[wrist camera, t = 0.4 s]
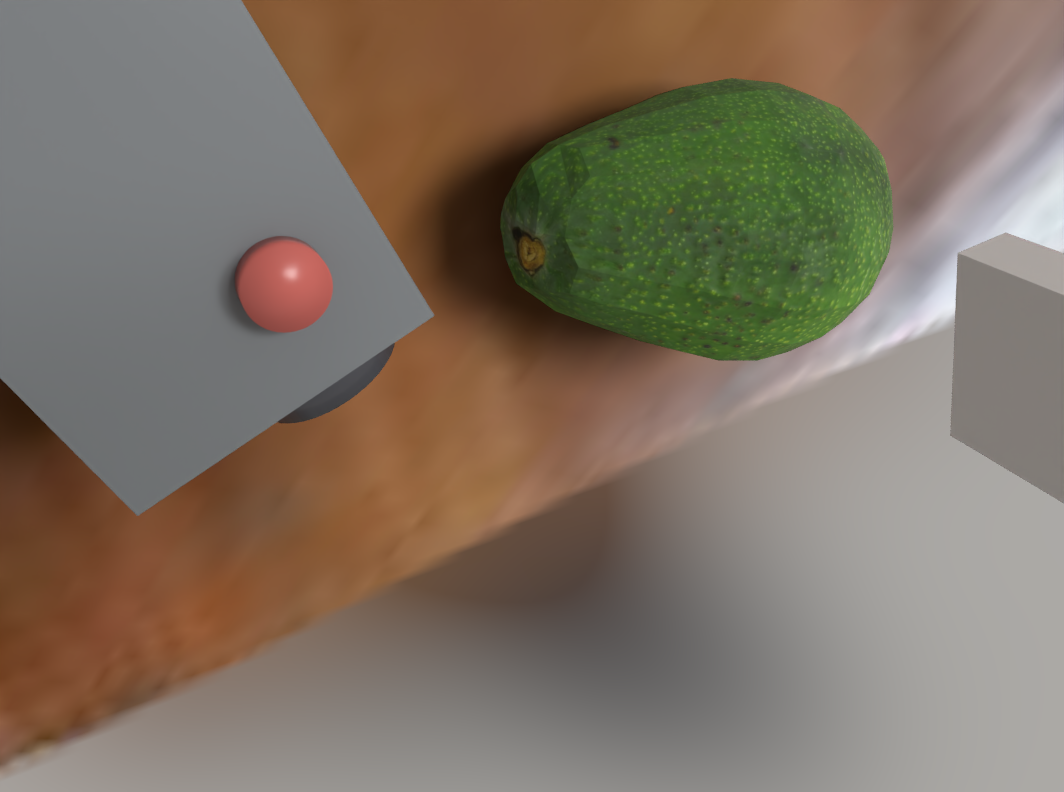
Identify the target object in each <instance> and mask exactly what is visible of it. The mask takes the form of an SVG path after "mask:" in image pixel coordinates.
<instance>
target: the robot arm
mask: <svg viewBox="0 0 1064 792" xmlns="http://www.w3.org/2000/svg"><path fill="white" fill-rule="evenodd" d="M953 360H954V361H953V384H952V408H951V434H950V435H951V436H952V437H954V438H955V439H957V440H959V441H960V442H962V443H964V444H965V445H967V446H969V447H971V448H972V449H974V450H976V451H977V452H979V453H981V454H982V455H984V456H986V457H987V458H989V459H991V460H992V461H994V462H996V463H997V464H999V465H1001V466H1003V467H1004V468H1006V469H1008V470H1009V471H1011V472H1012V473H1014V474H1016V475H1017V476H1019V477H1021V478H1022V479H1024V480H1026V481H1027V482H1029V483H1031V484H1032V485H1034V486H1036V487H1038V488H1039V489H1041V490H1042V491H1044V492H1046V493H1047V494H1049V495H1051V496H1053V497H1054V498H1056V499H1057V500H1059V501H1061V502H1062V503H1064V253H1061V252H1058V251H1056V250H1053V249H1050V248H1047V247H1044V246H1042V245H1039V244H1036V243H1033V242H1030V241H1028V240H1025V239H1022V238H1019V237H1016V236H1014V235H1011V234H1008V233H1004V234H1001V235H999V236H997V237H994V238H992V239H990V240H987V241H985V242H982V243H980V244H978V245H975V246H973V247H971V248H968V249H966V250H964V251H961V252H959V253H958V260H957V285H956V310H955V335H954V359H953Z"/></svg>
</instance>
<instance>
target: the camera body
mask: <svg viewBox="0 0 1064 792" xmlns="http://www.w3.org/2000/svg"><path fill="white" fill-rule="evenodd" d="M433 316H434V314H433V312H432V311H431V309H430V308H429V306H428V304H427V303H426V301H425V299H424V298H423V296H422V295H421V293H420V291H419V290H418V288H417V286H416V285H415V283H414V281H413V280H412V278H411V277H410V275H409V273H408V272H407V270H406V268H405V267H404V265H403V264H402V262H401V260H400V259H399V257H398V255H397V254H396V252H395V250H394V249H393V247H392V246H391V244H390V242H389V241H388V239H387V237H386V236H385V234H384V233H383V231H382V229H381V228H380V226H379V224H378V223H377V221H376V219H375V218H374V216H373V215H372V213H371V211H370V210H369V208H368V206H367V205H366V203H365V202H364V200H363V198H362V197H361V195H360V193H359V192H358V190H357V189H356V187H355V185H354V184H353V182H352V180H351V179H350V177H349V175H348V174H347V172H346V171H345V169H344V167H343V166H342V164H341V162H340V161H339V159H338V158H337V156H336V154H335V153H334V151H333V149H332V148H331V146H330V144H329V143H328V141H327V140H326V138H325V136H324V135H323V133H322V131H321V130H320V128H319V127H318V125H317V123H316V122H315V120H314V118H313V117H312V115H311V113H310V112H309V110H308V109H307V107H306V105H305V104H304V102H303V100H302V99H301V97H300V96H299V94H298V92H297V91H296V89H295V87H294V86H293V84H292V82H291V81H290V79H289V78H288V76H287V74H286V73H285V71H284V69H283V68H282V66H281V65H280V63H279V61H278V60H277V58H276V56H275V55H274V53H273V52H272V50H271V48H270V47H269V45H268V43H267V42H266V40H265V38H264V37H263V35H262V34H261V32H260V30H259V29H258V27H257V25H256V24H255V22H254V21H253V19H252V17H251V16H250V14H249V12H248V11H247V9H246V7H245V6H244V4H243V3H242V1H241V0H0V378H1V379H2V380H3V381H4V382H5V383H6V384H7V385H8V386H9V387H10V388H11V389H12V390H13V391H14V392H15V393H16V394H17V395H18V396H19V397H20V398H21V399H22V401H23V402H24V403H25V404H26V405H27V406H28V407H29V408H30V409H31V410H32V411H33V412H34V413H35V414H36V415H37V416H38V417H39V418H40V419H41V420H42V421H43V422H44V423H45V424H46V425H47V426H48V427H49V428H50V429H51V430H52V431H53V432H54V433H55V434H56V435H57V436H58V437H59V438H60V439H61V440H62V441H63V442H64V443H65V444H66V445H67V446H68V447H69V448H70V449H71V450H72V451H73V452H74V453H75V454H76V455H77V456H78V457H79V458H80V459H81V460H82V461H83V462H84V463H85V464H86V465H87V466H88V467H89V468H90V469H91V470H92V471H93V472H94V473H95V474H96V475H97V476H98V477H99V478H100V479H101V480H102V481H103V482H104V483H105V484H106V485H107V486H108V487H109V488H110V489H111V490H112V491H113V492H114V493H115V494H116V495H117V496H118V497H119V498H120V499H121V500H122V501H123V502H124V503H125V504H126V505H127V506H128V507H129V508H130V509H131V510H132V511H133V512H134V513H135V514H136V515H137V516H138V515H140V514H141V513H143V512H144V511H146V510H147V509H149V508H150V507H152V506H153V505H155V504H156V503H157V502H159V501H160V500H162V499H163V498H165V497H166V496H168V495H169V494H171V493H172V492H174V491H175V490H177V489H178V488H180V487H181V486H183V485H184V484H186V483H187V482H189V481H190V480H192V479H193V478H195V477H196V476H198V475H199V474H200V473H202V472H203V471H205V470H206V469H208V468H209V467H211V466H212V465H214V464H215V463H217V462H218V461H220V460H221V459H223V458H224V457H226V456H227V455H229V454H230V453H232V452H233V451H235V450H236V449H238V448H239V447H240V446H242V445H243V444H245V443H246V442H248V441H249V440H251V439H252V438H254V437H255V436H257V435H258V434H260V433H261V432H263V431H264V430H266V429H267V428H269V427H270V426H272V425H273V424H275V423H276V422H279V423H297V422H302V421H306V420H310V419H313V418H316V417H318V416H321V415H323V414H325V413H327V412H330V411H332V410H333V409H335V408H337V407H339V406H340V405H342V404H344V403H345V402H347V401H348V400H350V399H351V398H352V397H354V396H355V395H357V394H358V393H359V392H360V391H361V390H363V389H364V388H365V387H366V386H367V385H368V384H369V383H370V382H371V381H372V380H373V379H374V378H375V377H376V376H377V375H378V374H379V372H380V371H381V370H382V368H383V367H384V366H385V364H386V362H387V361H388V359H389V357H390V355H391V353H392V351H393V348H394V343H395V342H396V341H398V340H399V339H401V338H402V337H404V336H405V335H407V334H408V333H409V332H411V331H412V330H414V329H415V328H417V327H418V326H420V325H421V324H423V323H424V322H426V321H427V320H429V319H430V318H432V317H433Z"/></svg>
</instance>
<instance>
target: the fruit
mask: <svg viewBox="0 0 1064 792" xmlns="http://www.w3.org/2000/svg"><path fill="white" fill-rule="evenodd" d="M500 230H501V232H502V239H503V246H504V252H505V258H506V261H507V263H508V265H509V268H510V270H511V272H512V275H513V277H514V280H515V282H516V284H518V285H519V286H521V287H522V288H523V289H525V290H526V291H528V292H529V293H531V294H532V295H533V296H535V297H536V298H538V299H539V300H540V301H542V302H543V303H545V304H546V305H547V306H549V307H550V308H552V309H553V310H554V311H556V312H559V313H562V314H564V315H567V316H570V317H573V318H575V319H578V320H581V321H584V322H586V323H589V324H592V325H595V326H598V327H601V328H604V329H607V330H610V331H612V332H615V333H618V334H621V335H624V336H627V337H630V338H633V339H636V340H639V341H643V342H647V343H651V344H654V345H658V346H662V347H666V348H670V349H674V350H678V351H682V352H686V353H690V354H694V355H698V356H703V357H707V358H711V359H715V360H760V359H764V358H768V357H771V356H775V355H778V354H782V353H785V352H788V351H791V350H793V349H795V348H798V347H800V346H802V345H804V344H807V343H809V342H811V341H813V340H816V339H818V338H820V337H822V336H823V335H825V334H826V333H827V332H829V331H830V330H832V329H833V328H834V327H836V326H837V325H839V324H840V323H841V322H842V321H843V320H844V319H845V318H846V317H847V316H848V315H849V314H850V313H851V312H852V311H853V310H854V309H855V308H856V307H857V306H858V305H859V304H860V303H861V302H862V301H863V300H864V299H865V298H866V297H867V296H868V295H869V294H870V292H871V289H872V287H873V285H874V283H875V281H876V279H877V277H878V274H879V272H880V270H881V268H882V266H883V264H884V262H885V260H886V257H887V255H888V253H889V249H890V243H891V238H892V232H893V212H892V190H891V186H890V181H889V177H888V173H887V169H886V164H885V160H884V158H883V157H882V155H881V153H880V151H879V149H878V148H877V147H876V146H875V145H874V143H873V142H872V141H871V140H870V139H869V137H868V136H867V135H866V134H865V133H864V131H863V130H862V129H861V128H860V127H859V126H858V125H857V124H856V123H855V122H854V121H853V120H852V119H851V118H850V117H849V116H848V115H847V114H846V113H845V112H843V111H842V110H841V109H840V108H838V107H836V106H834V105H831V104H829V103H827V102H825V101H822V100H820V99H818V98H815V97H813V96H811V95H809V94H806V93H803V92H801V91H798V90H795V89H793V88H790V87H787V86H785V85H782V84H779V83H772V82H762V81H753V80H743V79H733V78H730V79H725V80H719V81H714V82H709V83H703V84H698V85H692V86H687V87H682V88H678V89H675V90H672V91H668V92H665V93H662V94H658V95H656V96H654V97H652V98H649V99H647V100H645V101H643V102H640V103H638V104H636V105H634V106H632V107H629V108H627V109H625V110H622V111H620V112H617V113H615V114H612V115H610V116H607V117H605V118H602V119H600V120H597V121H595V122H592V123H590V124H587V125H585V126H583V127H581V128H579V129H577V130H575V131H573V132H570V133H568V134H566V135H564V136H562V137H560V138H558V139H556V140H553V141H551V142H549V143H547V144H546V145H545V146H544V147H543V148H542V149H541V150H540V151H538V152H537V153H536V154H535V155H534V156H533V157H532V158H531V159H530V160H529V161H528V162H527V163H526V164H525V165H524V166H523V167H522V168H521V170H520V172H519V174H518V176H517V177H516V179H515V181H514V183H513V185H512V187H511V189H510V191H509V193H508V194H507V196H506V198H505V201H504V205H503V208H502V212H501V224H500Z"/></svg>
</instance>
